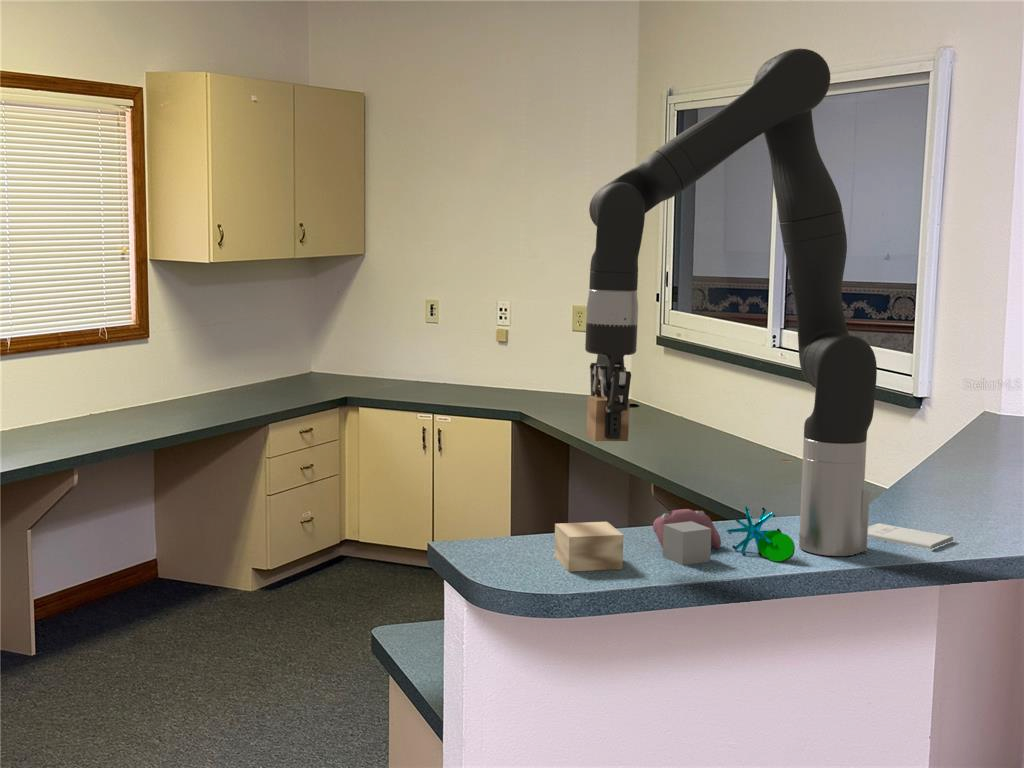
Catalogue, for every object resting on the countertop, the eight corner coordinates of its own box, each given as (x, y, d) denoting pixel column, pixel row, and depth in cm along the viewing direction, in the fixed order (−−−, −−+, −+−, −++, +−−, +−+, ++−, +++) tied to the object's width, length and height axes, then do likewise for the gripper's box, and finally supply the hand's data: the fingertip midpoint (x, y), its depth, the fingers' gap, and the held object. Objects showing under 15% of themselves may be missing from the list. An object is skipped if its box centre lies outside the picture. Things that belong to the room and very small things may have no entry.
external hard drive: (930, 555, 171) (855, 539, 179) (952, 545, 177) (879, 531, 185) (931, 545, 171) (856, 530, 179) (953, 535, 176) (879, 521, 185)
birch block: (606, 554, 166) (606, 521, 166) (622, 568, 159) (623, 534, 158) (554, 556, 165) (555, 523, 164) (568, 571, 157) (569, 537, 156)
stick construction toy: (715, 534, 170) (746, 494, 171) (734, 552, 175) (764, 513, 176) (772, 574, 161) (804, 531, 162) (790, 591, 166) (822, 550, 167)
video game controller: (710, 553, 174) (701, 510, 176) (725, 547, 170) (715, 502, 172) (655, 559, 170) (646, 514, 172) (668, 552, 166) (659, 507, 168)
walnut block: (618, 435, 168) (620, 396, 167) (628, 441, 163) (629, 400, 162) (586, 435, 167) (587, 396, 166) (595, 441, 162) (596, 400, 161)
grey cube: (690, 553, 168) (691, 521, 167) (710, 561, 163) (711, 528, 163) (662, 557, 166) (663, 524, 165) (682, 565, 161) (683, 532, 161)
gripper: (651, 324, 157) (646, 443, 159) (622, 318, 171) (617, 428, 173) (600, 323, 155) (595, 443, 157) (575, 317, 169) (571, 428, 171)
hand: (607, 435), depth 165 cm, fingers closed on walnut block, 5 cm apart
